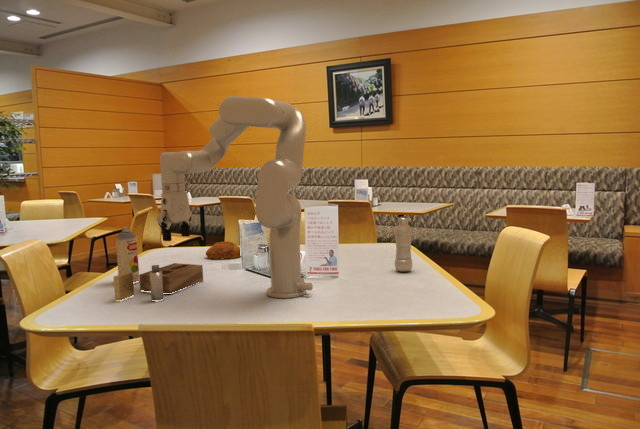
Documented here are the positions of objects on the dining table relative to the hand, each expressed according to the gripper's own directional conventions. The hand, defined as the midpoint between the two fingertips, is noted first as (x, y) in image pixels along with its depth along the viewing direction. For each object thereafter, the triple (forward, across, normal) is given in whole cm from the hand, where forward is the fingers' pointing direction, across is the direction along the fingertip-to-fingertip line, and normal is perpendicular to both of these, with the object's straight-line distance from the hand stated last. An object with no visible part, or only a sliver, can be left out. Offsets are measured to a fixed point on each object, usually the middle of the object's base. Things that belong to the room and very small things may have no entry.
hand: (176, 238), depth 170 cm
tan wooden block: (+16, -20, +5) cm, 26 cm away
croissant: (+17, +47, +12) cm, 51 cm away
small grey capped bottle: (+16, -18, -6) cm, 25 cm away
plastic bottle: (+16, +41, -69) cm, 82 cm away
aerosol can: (+16, -3, +19) cm, 26 cm away
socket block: (+16, -3, 0) cm, 16 cm away
